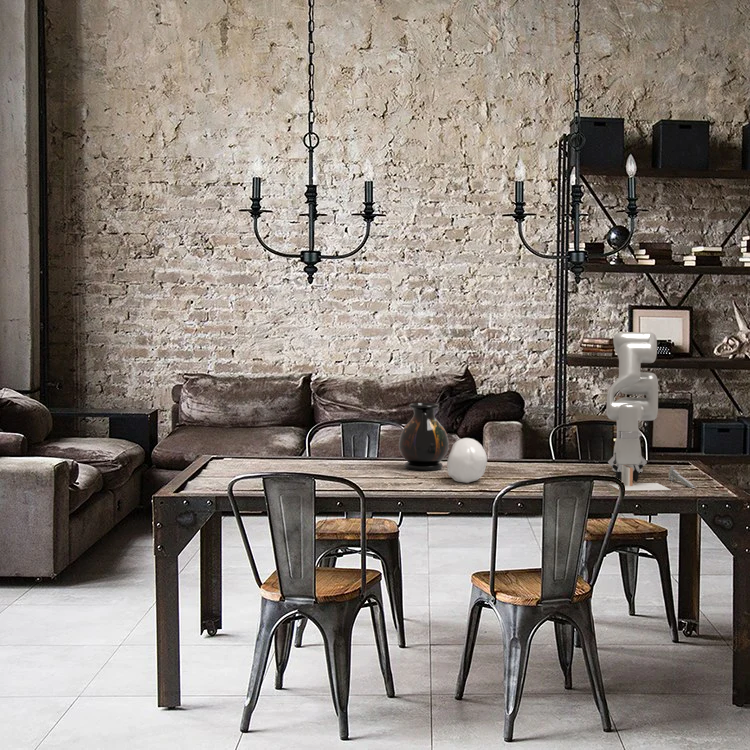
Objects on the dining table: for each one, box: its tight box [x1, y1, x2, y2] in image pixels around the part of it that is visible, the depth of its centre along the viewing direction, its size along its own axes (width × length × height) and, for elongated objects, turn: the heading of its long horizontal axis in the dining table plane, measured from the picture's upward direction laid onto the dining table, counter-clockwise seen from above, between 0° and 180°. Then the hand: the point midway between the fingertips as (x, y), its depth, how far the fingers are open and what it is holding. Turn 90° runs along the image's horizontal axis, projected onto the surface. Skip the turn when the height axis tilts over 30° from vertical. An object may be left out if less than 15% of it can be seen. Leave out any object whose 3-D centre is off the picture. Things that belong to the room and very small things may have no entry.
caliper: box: [668, 465, 696, 489], centre depth 399 cm, size 20×1×6 cm, turn 10°
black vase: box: [398, 402, 450, 472], centre depth 434 cm, size 22×22×28 cm
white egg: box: [446, 437, 488, 484], centre depth 405 cm, size 16×20×22 cm
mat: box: [608, 482, 672, 492], centre depth 390 cm, size 15×20×1 cm
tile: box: [621, 465, 634, 486], centre depth 395 cm, size 8×2×7 cm, turn 5°
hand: (627, 480), depth 395 cm, fingers open, 5 cm apart
